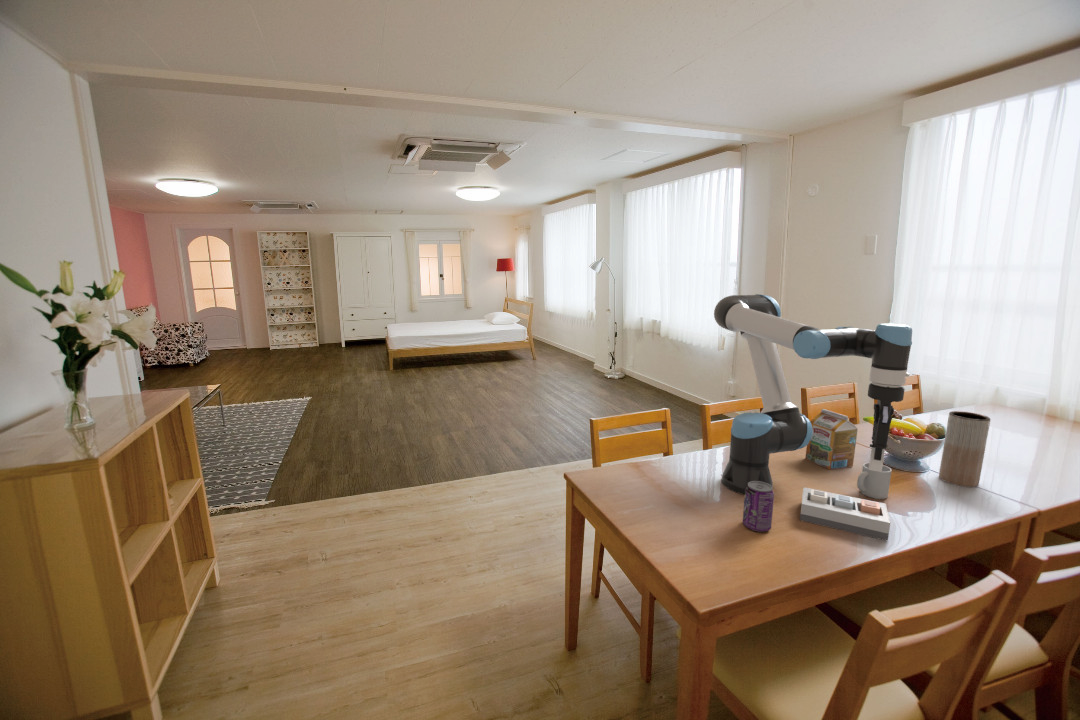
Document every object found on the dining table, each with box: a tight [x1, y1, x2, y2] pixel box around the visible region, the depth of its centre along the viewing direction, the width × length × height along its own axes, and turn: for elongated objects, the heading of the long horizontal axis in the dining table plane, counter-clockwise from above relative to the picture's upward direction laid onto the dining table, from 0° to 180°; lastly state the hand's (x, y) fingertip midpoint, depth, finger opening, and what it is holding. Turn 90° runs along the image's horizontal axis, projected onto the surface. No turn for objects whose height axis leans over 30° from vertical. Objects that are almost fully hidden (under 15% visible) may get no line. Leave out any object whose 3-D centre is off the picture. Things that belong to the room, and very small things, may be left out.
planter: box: [938, 410, 991, 488], centre depth 155 cm, size 10×10×23 cm
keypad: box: [799, 487, 891, 542], centre depth 131 cm, size 20×12×5 cm, turn 59°
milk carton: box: [805, 408, 858, 471], centre depth 170 cm, size 11×11×19 cm
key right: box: [860, 498, 880, 515], centre depth 128 cm, size 4×4×3 cm
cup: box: [856, 462, 892, 500], centre depth 146 cm, size 7×10×9 cm
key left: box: [810, 488, 828, 504], centre depth 134 cm, size 4×4×3 cm
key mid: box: [834, 493, 853, 509], centre depth 131 cm, size 4×4×3 cm
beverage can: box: [742, 481, 775, 533], centre depth 127 cm, size 7×7×12 cm
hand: (875, 469), depth 126 cm, fingers closed
